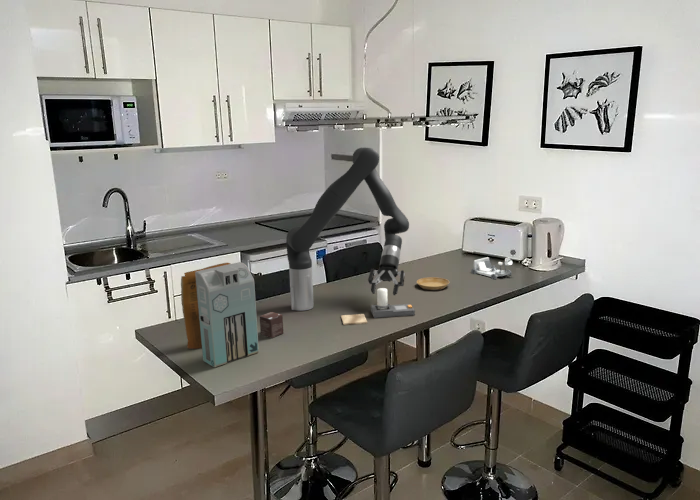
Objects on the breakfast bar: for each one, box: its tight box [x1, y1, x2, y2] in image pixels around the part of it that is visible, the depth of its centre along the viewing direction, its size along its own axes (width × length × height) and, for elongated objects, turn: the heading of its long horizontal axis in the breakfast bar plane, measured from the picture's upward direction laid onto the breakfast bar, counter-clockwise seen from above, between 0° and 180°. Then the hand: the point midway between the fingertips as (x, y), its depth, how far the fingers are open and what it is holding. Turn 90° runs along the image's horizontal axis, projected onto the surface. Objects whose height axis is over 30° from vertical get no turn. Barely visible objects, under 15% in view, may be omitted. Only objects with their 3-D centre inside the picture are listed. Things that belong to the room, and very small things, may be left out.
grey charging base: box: [370, 303, 416, 319], centre depth 221 cm, size 16×8×3 cm, turn 97°
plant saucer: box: [416, 276, 450, 291], centre depth 255 cm, size 15×15×3 cm
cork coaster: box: [340, 313, 368, 326], centre depth 215 cm, size 9×9×1 cm
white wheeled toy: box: [470, 256, 513, 281], centre depth 270 cm, size 18×10×12 cm
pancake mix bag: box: [180, 262, 232, 350], centre depth 192 cm, size 7×19×28 cm, turn 127°
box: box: [259, 311, 284, 339], centre depth 202 cm, size 6×6×7 cm
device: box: [195, 261, 260, 368], centre depth 180 cm, size 16×8×30 cm, turn 133°
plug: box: [376, 287, 389, 310], centre depth 220 cm, size 4×4×10 cm
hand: (383, 293), depth 221 cm, fingers open, 8 cm apart
